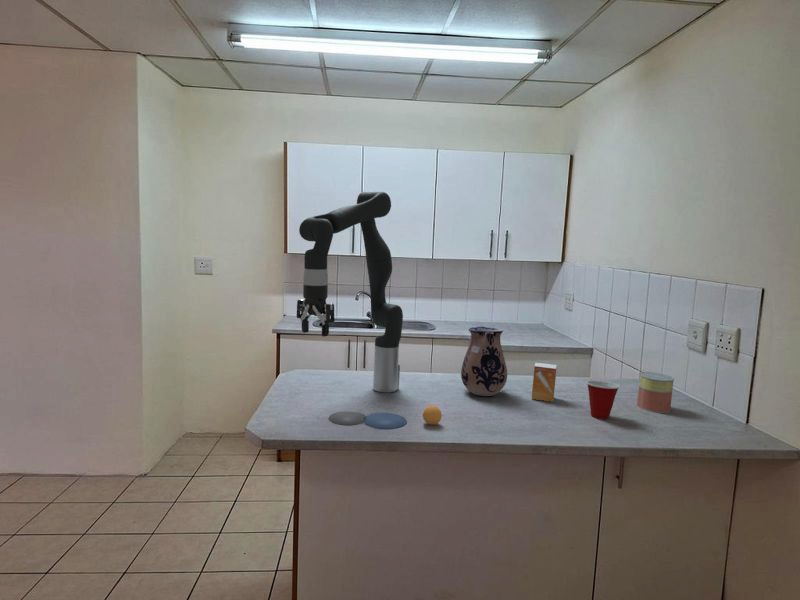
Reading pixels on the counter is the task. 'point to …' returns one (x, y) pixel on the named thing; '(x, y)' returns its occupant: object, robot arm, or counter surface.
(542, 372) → the small box
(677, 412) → the counter surface
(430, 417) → the ball
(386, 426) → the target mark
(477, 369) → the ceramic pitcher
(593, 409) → the plastic cup
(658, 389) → the canned food
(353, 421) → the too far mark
